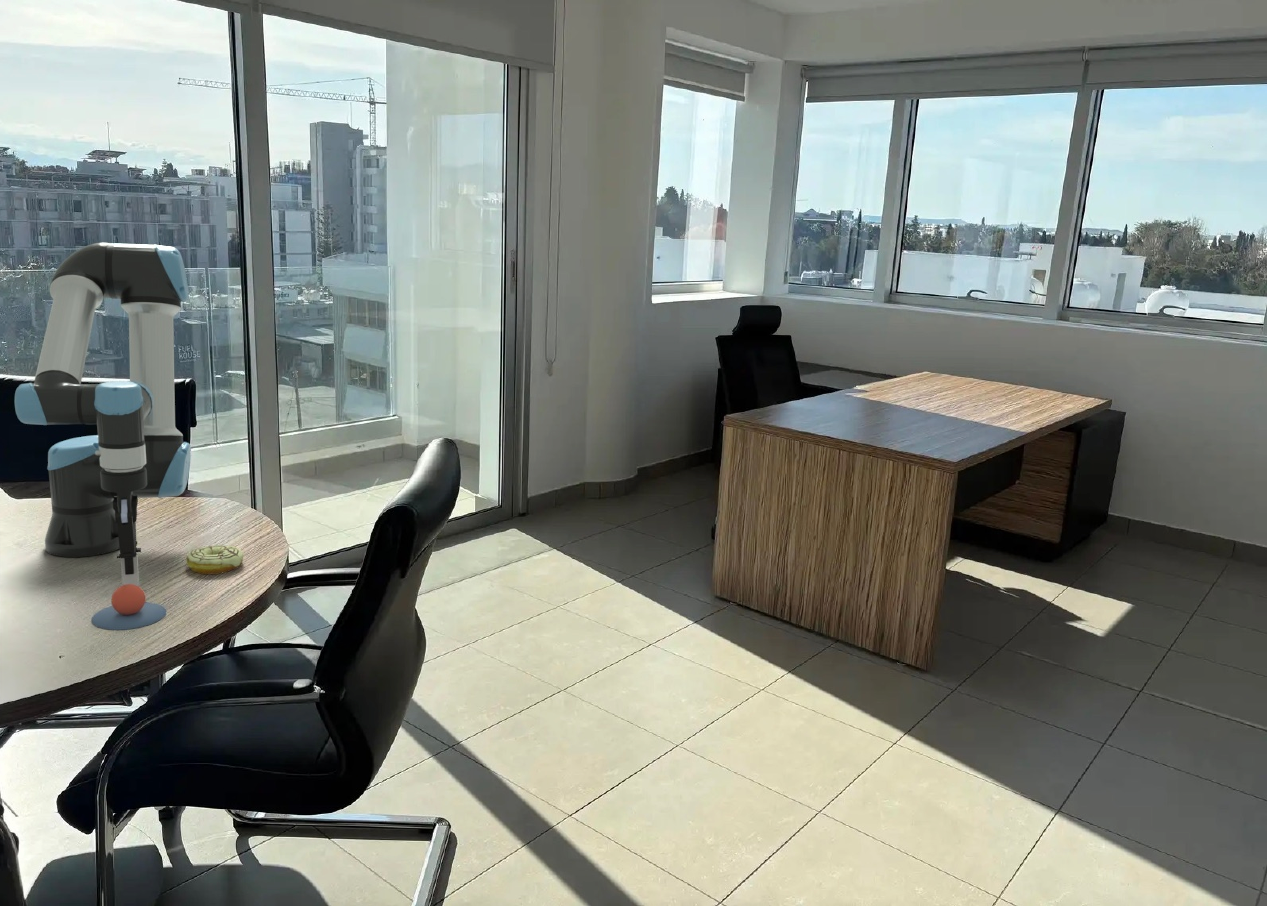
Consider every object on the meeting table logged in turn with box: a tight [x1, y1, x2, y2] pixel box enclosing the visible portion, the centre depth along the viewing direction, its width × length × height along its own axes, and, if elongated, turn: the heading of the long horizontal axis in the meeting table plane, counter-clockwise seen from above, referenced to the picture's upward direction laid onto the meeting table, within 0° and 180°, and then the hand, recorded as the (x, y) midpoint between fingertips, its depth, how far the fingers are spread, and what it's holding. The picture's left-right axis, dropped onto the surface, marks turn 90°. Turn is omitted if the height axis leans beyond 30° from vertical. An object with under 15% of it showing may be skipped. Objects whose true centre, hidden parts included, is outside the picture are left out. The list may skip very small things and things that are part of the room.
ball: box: [111, 584, 147, 615], centre depth 175 cm, size 6×6×6 cm
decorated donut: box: [185, 544, 244, 575], centre depth 200 cm, size 10×11×4 cm
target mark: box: [91, 601, 167, 631], centre depth 175 cm, size 12×12×1 cm
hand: (131, 587), depth 183 cm, fingers closed
